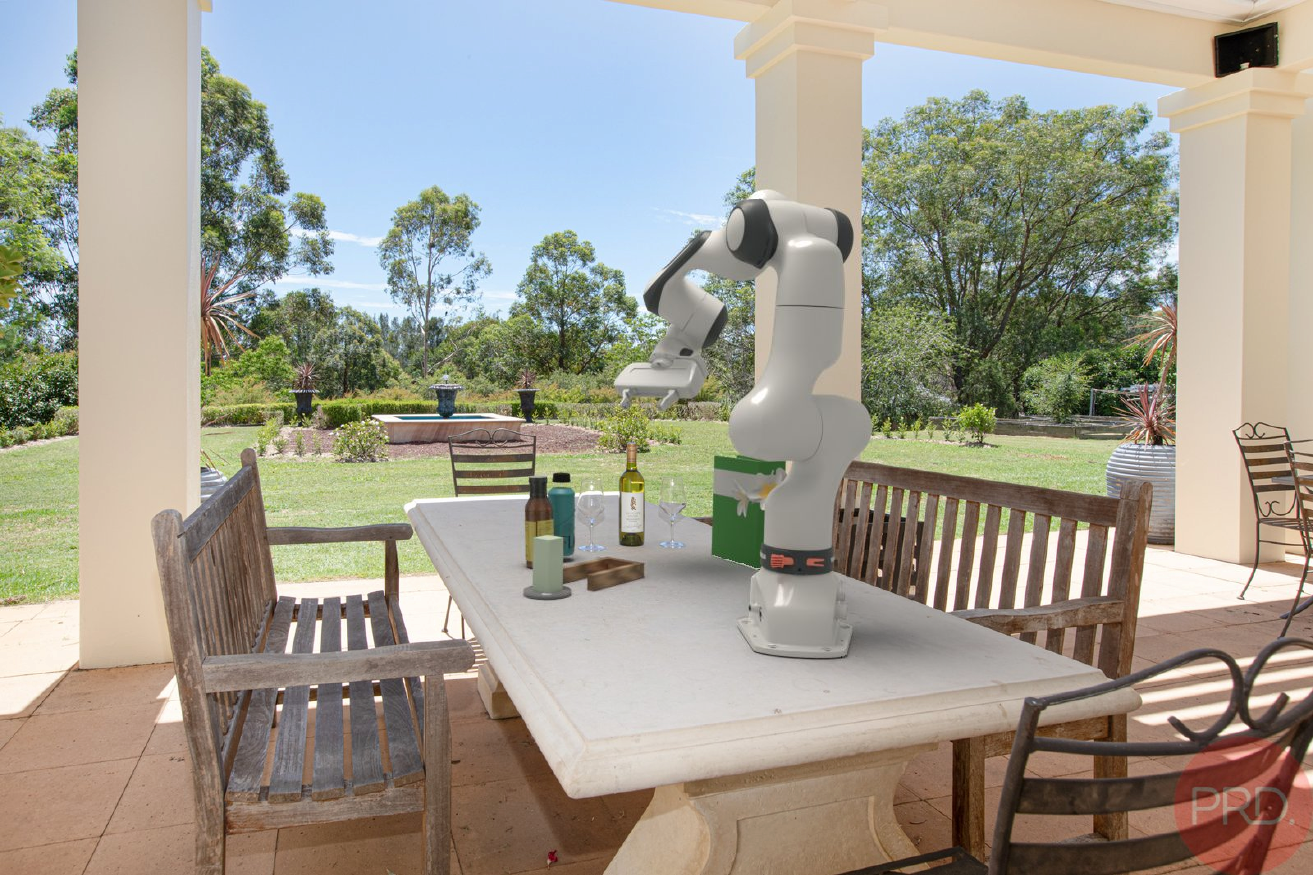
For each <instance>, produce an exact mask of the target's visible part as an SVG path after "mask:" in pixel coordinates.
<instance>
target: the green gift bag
mask: <svg viewBox="0 0 1313 875" xmlns="http://www.w3.org/2000/svg"><path fill="white" fill-rule="evenodd" d="M777 468H782V469H783V470H784V471H785V472H786V470H787V461H763V460H758V459H754V458H750V457H746V456H743V455H741V454H736V457H730V456H723V455H714V456H713V482H712V483H713V486H712V487H713V490H712V520H711V521H712V526H711V527H712V528H711V530H712V532H711V556H712V555H715V556H718V557H721V558H723V559H729V560H732V561H735V562H738V563H744V564H746V565H749V566H752V567H754V568H761V567H762V566H761V564H760V558H761V556H760V550H761V544H762V543H763V542H764V520H765V510H762V509H761V508H760V502H761V500H762V499H761V500H759V501H757V502H755V503H753V504H752V502H753V501H754V499H749V503H748V506H747V513H746V518H745V516H744V513H743V511H742V513H741V515H740V516H739V515H738V513H737V506H738V503H739V502H740V501H741V500H736V499H734V498H733V496H732V495H731V490H732V489H734V490H737V489H736V487H735V486H734V483H733V479H734V480H735V481H736V482H737V483H738V485H739V486H740V487H741V488H742V489H743V490H744V491H745V492H747V493H748V492H749V491H751V490H753V489H761V488H760V487H759V485H758V484H757V481H756V475H757V474H758V473H762V474H764V475H765V476H766V477H767V479H768V481H769V478H770V475H771V473H772V471H773V470H774V472H773V476H774V475H776V470H777ZM786 473H787V472H786ZM738 491H739V490H738ZM723 559H722V560H723Z"/></svg>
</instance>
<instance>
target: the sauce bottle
mask: <svg viewBox="0 0 1313 875" xmlns="http://www.w3.org/2000/svg"><path fill="white" fill-rule="evenodd" d="M548 482H549V481H548V476H546V475H530V476H528V483H529V499H528V500H527V502H526V503H525V506H524V533H525V534H524V544H525V545H524V546H525V547H524V549H525V550H524V551H525V562H526V567H528V568H529V569H533V538H534V537H540V536H545V535H551V536H554V525H553V510H552V505H551V504H550V501H549V499H548V487H547V485H548Z"/></svg>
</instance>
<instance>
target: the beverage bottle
mask: <svg viewBox="0 0 1313 875" xmlns="http://www.w3.org/2000/svg"><path fill="white" fill-rule="evenodd" d="M551 481H552V483H558V484H563V483H565V484H566V483H567V484H568V483H571V482H572V481H571V473H569V472H564V471H563V472H554V473H552V479H551ZM575 495H576V492H575V490H574V489H572V488H571V487H569V486H553V487H551V488H550V489H549V490H548V491H547V497H548V499H549V501H550V504H551V505H552V510H553V525H554V536H557V537H563V557H569V556H573V555H574V554H575V551H576V548H575V547H576V546H575V545H576V533H575V531H576V527H575V523H576V522H575V521H576V520H575V518H576V496H575Z"/></svg>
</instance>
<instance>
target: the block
mask: <svg viewBox="0 0 1313 875" xmlns="http://www.w3.org/2000/svg"><path fill="white" fill-rule="evenodd" d="M563 567H564V556H563V537H557V536H551V535H545V536H540V537H534V538H533V568H532V586H533V589H532V590H534V591H539V592H544V593H552V592H556V591H559V590H563V586H564V584H563Z"/></svg>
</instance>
